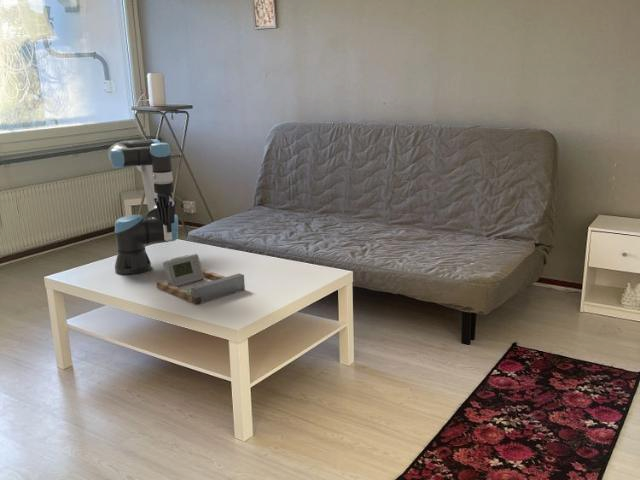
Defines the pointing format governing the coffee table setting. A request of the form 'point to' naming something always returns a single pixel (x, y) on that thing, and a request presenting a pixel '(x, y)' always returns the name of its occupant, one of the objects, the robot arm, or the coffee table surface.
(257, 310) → the coffee table surface
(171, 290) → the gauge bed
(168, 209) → the robot arm
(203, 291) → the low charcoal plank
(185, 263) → the digital clock
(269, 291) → the coffee table surface
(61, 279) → the coffee table surface
